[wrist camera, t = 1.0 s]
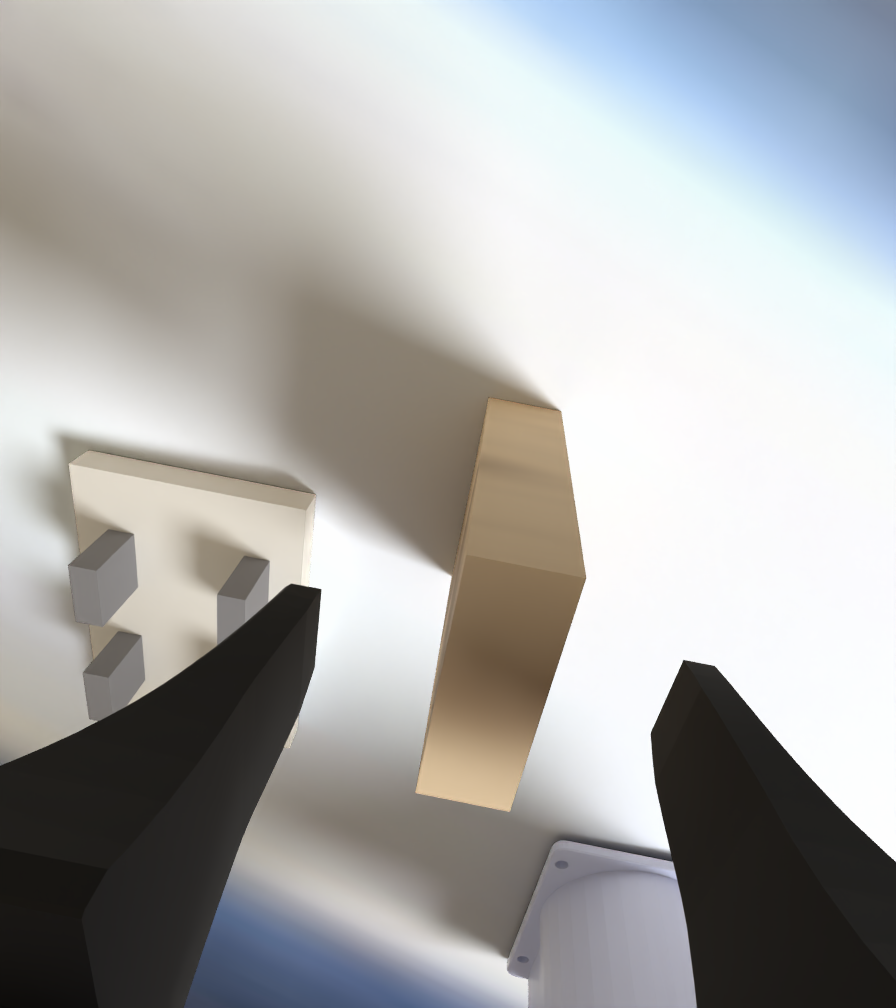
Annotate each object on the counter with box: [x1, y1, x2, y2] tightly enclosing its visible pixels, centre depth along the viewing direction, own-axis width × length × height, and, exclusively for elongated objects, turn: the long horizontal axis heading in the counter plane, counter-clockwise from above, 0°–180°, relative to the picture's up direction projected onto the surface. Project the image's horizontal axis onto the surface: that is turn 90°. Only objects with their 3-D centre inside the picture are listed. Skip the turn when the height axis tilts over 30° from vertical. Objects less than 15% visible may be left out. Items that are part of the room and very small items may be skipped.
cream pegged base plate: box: [68, 450, 316, 749], centre depth 21 cm, size 10×7×3 cm
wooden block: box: [415, 397, 586, 812], centre depth 16 cm, size 6×2×8 cm, turn 170°
